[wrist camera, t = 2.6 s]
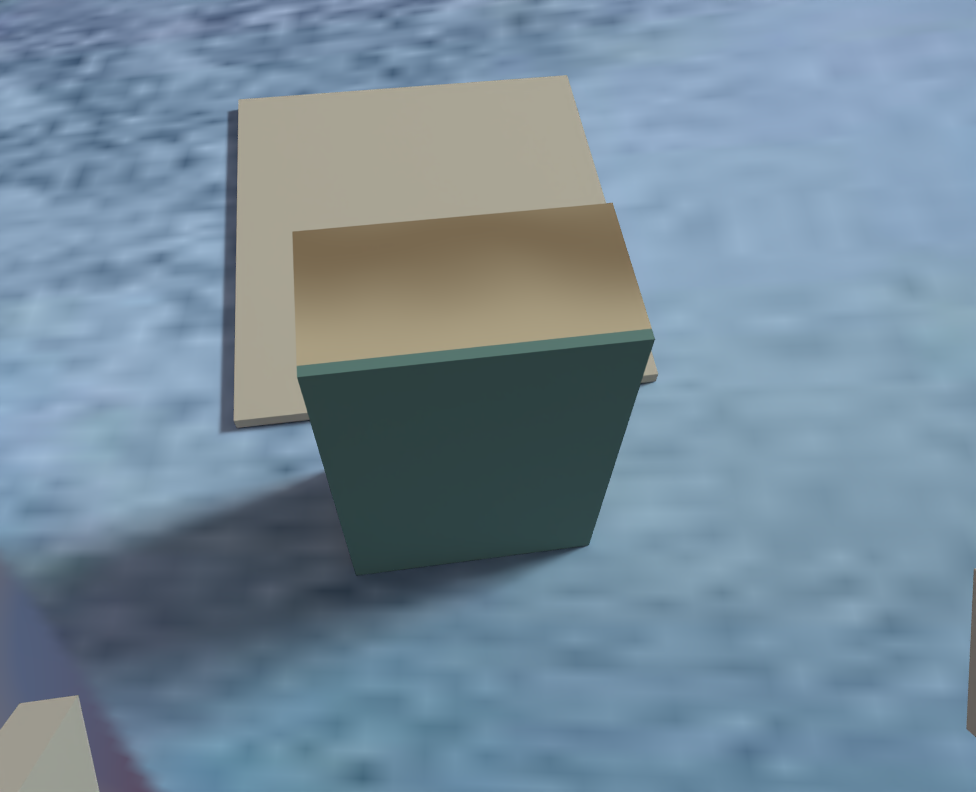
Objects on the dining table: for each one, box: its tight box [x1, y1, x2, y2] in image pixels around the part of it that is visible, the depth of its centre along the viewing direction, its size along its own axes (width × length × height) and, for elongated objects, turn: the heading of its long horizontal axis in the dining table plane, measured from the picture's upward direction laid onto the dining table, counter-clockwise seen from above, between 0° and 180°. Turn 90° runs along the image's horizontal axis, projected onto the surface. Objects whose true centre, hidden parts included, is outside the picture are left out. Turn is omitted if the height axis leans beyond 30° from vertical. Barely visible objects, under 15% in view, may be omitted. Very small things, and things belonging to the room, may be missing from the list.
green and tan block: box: [292, 203, 655, 575], centre depth 25 cm, size 4×8×12 cm, turn 98°
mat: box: [234, 75, 658, 428], centre depth 37 cm, size 18×16×1 cm
